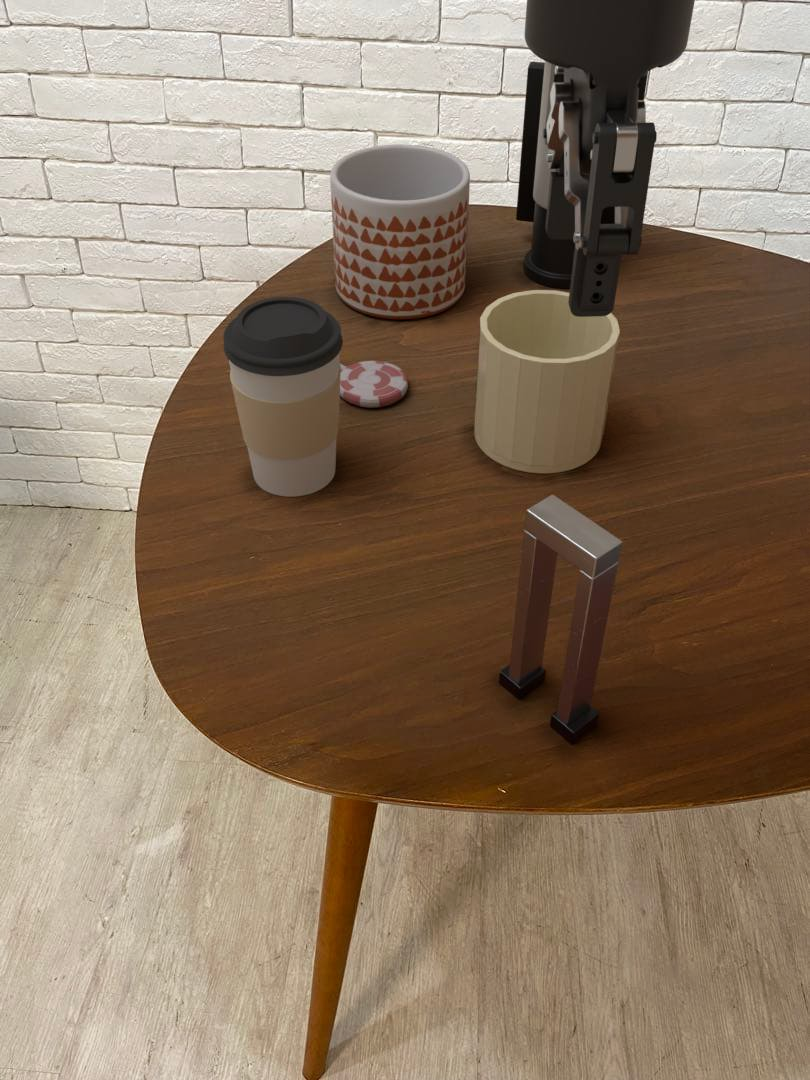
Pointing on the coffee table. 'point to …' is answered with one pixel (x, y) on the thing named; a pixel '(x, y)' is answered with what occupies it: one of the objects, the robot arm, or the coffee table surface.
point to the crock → (542, 382)
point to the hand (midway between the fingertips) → (576, 272)
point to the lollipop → (372, 383)
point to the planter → (400, 230)
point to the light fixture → (545, 186)
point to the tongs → (597, 558)
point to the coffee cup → (287, 391)
